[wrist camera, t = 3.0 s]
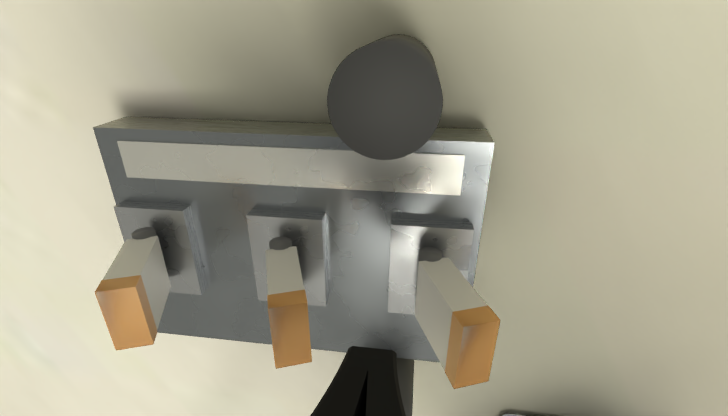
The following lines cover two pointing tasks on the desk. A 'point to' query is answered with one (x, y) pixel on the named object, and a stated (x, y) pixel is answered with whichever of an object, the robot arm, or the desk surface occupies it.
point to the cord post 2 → (406, 382)
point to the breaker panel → (296, 222)
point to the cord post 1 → (386, 98)
